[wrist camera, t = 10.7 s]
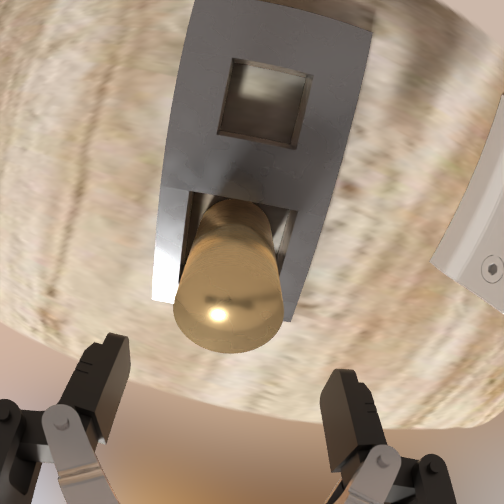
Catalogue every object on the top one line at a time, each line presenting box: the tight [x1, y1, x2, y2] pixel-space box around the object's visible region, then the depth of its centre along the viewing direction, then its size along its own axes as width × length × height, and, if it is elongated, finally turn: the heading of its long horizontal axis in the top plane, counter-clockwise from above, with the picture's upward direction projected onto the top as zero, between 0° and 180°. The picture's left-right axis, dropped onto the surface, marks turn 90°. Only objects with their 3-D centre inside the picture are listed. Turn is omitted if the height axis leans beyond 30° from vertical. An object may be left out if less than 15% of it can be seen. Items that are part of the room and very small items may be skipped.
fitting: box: [173, 199, 284, 353], centre depth 18 cm, size 5×5×9 cm
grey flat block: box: [152, 0, 372, 322], centre depth 19 cm, size 10×20×2 cm, turn 168°
